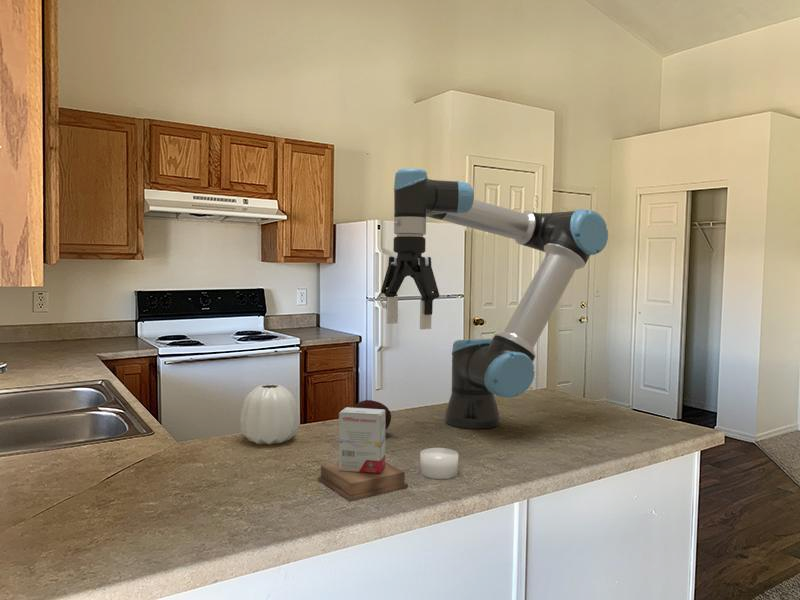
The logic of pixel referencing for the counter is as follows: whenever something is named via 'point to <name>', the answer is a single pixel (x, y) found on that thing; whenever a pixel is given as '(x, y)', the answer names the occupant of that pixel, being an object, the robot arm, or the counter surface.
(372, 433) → the ink box
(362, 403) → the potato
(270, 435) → the vase
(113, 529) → the counter surface
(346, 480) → the podium
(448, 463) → the white dome button
